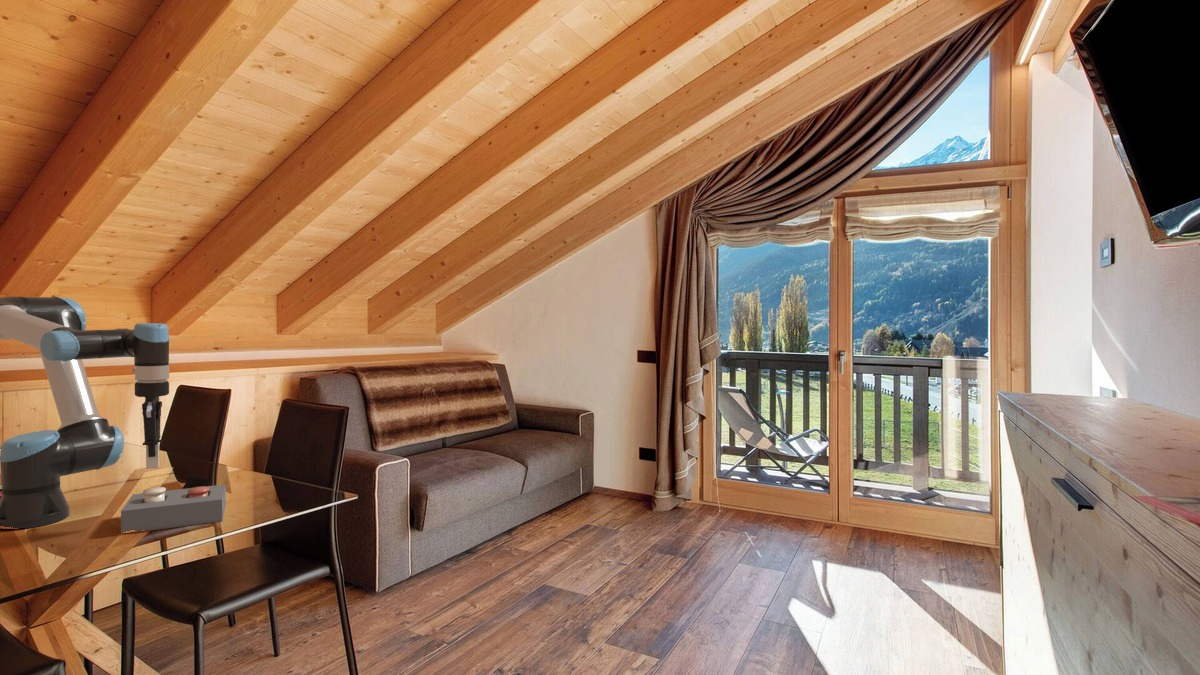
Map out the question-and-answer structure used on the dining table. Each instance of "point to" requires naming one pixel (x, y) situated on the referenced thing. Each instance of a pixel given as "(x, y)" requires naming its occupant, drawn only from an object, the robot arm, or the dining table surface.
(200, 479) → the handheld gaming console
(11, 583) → the dining table surface
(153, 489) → the ivory plunger
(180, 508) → the grey plunger base
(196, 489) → the red plunger
